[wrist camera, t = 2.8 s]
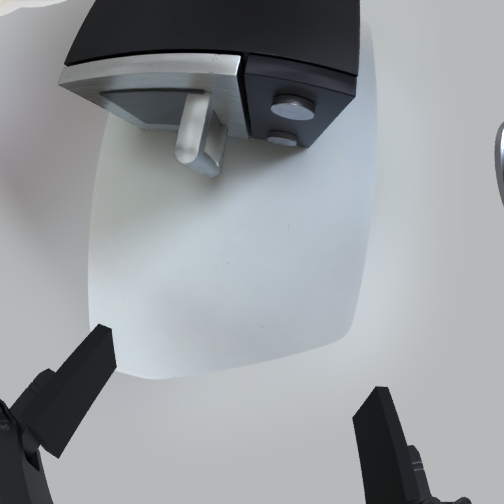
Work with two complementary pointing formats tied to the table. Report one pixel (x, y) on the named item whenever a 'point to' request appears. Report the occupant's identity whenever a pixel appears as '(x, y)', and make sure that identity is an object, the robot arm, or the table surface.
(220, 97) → the microwave door
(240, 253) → the table surface
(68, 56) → the microwave
